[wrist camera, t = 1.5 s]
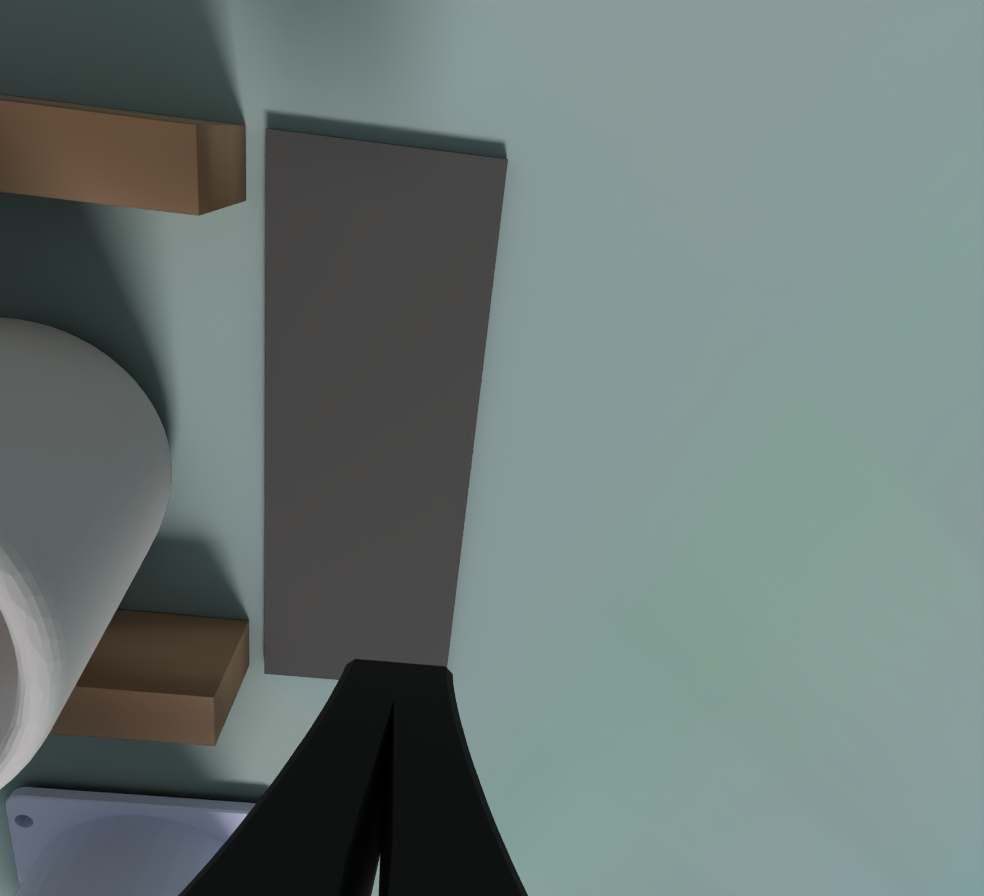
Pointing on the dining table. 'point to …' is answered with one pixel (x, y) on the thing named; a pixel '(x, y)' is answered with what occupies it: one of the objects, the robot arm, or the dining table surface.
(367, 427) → the pad
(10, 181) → the channel
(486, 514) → the dining table surface
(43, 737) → the cup
